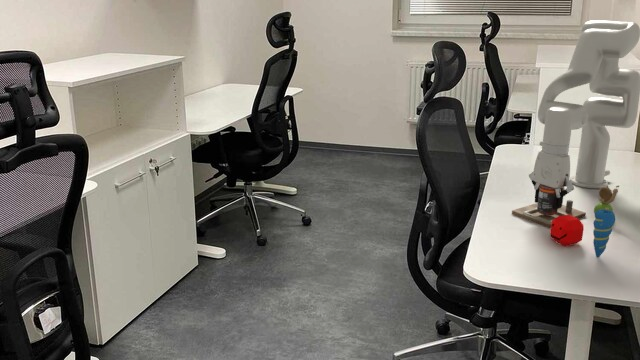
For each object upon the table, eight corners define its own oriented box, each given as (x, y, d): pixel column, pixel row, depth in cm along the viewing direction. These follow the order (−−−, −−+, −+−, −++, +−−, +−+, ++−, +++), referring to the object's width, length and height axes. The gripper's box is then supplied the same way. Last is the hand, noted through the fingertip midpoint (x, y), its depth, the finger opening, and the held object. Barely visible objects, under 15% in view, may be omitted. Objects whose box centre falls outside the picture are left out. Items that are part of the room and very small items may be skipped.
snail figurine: (606, 224, 188) (612, 187, 184) (588, 217, 193) (594, 181, 189) (618, 221, 190) (624, 184, 186) (600, 214, 195) (606, 178, 192)
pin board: (547, 203, 205) (549, 189, 203) (585, 216, 194) (587, 202, 192) (511, 213, 195) (513, 199, 194) (549, 228, 184) (551, 213, 183)
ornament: (584, 253, 168) (592, 202, 163) (602, 253, 168) (610, 201, 163) (593, 262, 163) (602, 209, 158) (612, 261, 163) (621, 208, 158)
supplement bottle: (555, 209, 192) (560, 175, 189) (558, 216, 187) (563, 181, 183) (535, 208, 194) (539, 174, 190) (537, 215, 188) (542, 180, 184)
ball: (543, 239, 176) (547, 214, 174) (564, 235, 180) (568, 210, 177) (564, 250, 170) (568, 225, 167) (586, 245, 173) (590, 220, 170)
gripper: (523, 144, 189) (517, 199, 194) (572, 157, 175) (564, 216, 181) (539, 140, 193) (532, 194, 198) (588, 153, 179) (580, 211, 185)
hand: (547, 204), depth 189 cm, fingers closed on supplement bottle, 6 cm apart
